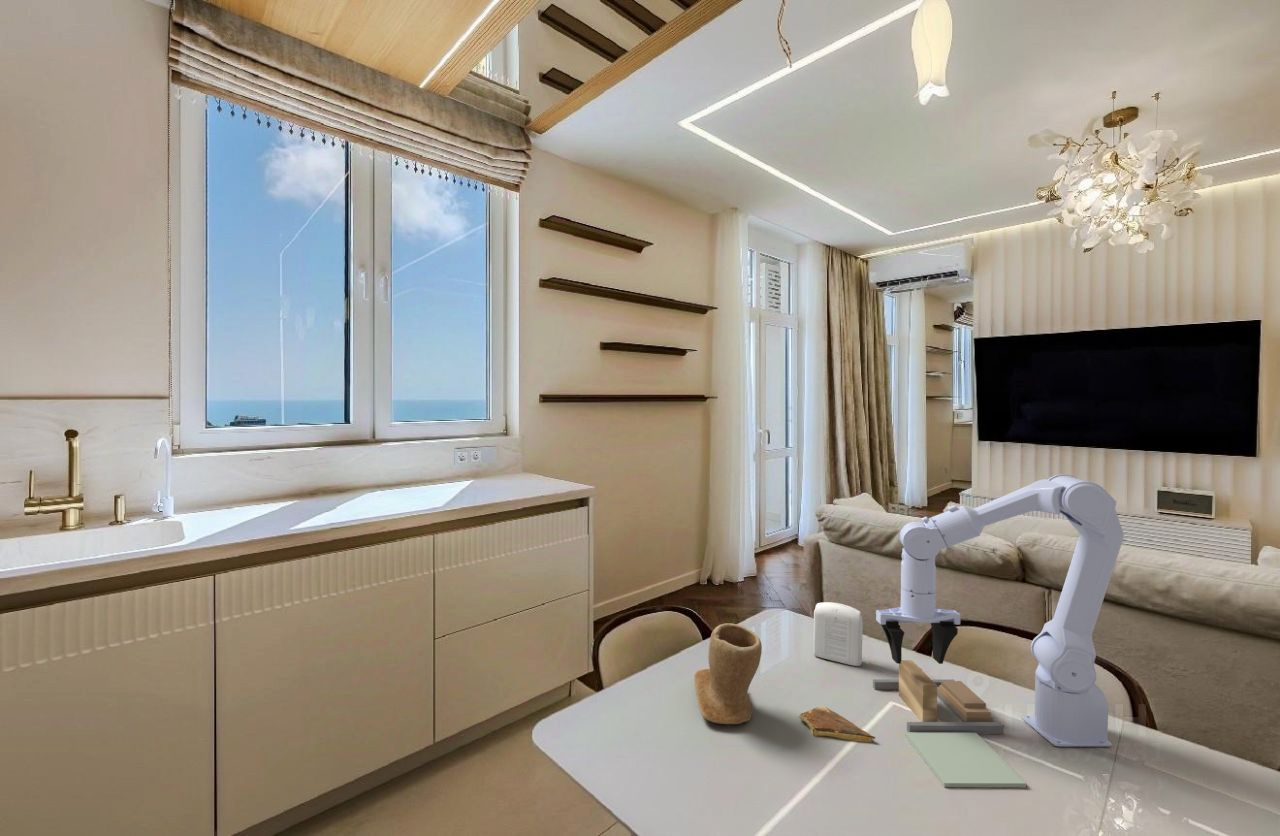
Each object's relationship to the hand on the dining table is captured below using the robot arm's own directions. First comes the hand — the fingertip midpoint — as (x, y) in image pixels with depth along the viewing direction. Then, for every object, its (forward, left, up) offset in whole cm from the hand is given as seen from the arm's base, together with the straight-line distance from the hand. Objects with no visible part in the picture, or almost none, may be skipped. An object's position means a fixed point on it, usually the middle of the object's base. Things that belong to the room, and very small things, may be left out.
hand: (917, 661), depth 98 cm
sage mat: (0, +14, -9) cm, 17 cm away
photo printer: (+8, -19, -9) cm, 23 cm away
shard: (+17, +5, -10) cm, 20 cm away
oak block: (0, 0, -9) cm, 9 cm away
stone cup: (+35, -1, -9) cm, 36 cm away
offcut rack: (-3, 0, -9) cm, 9 cm away
